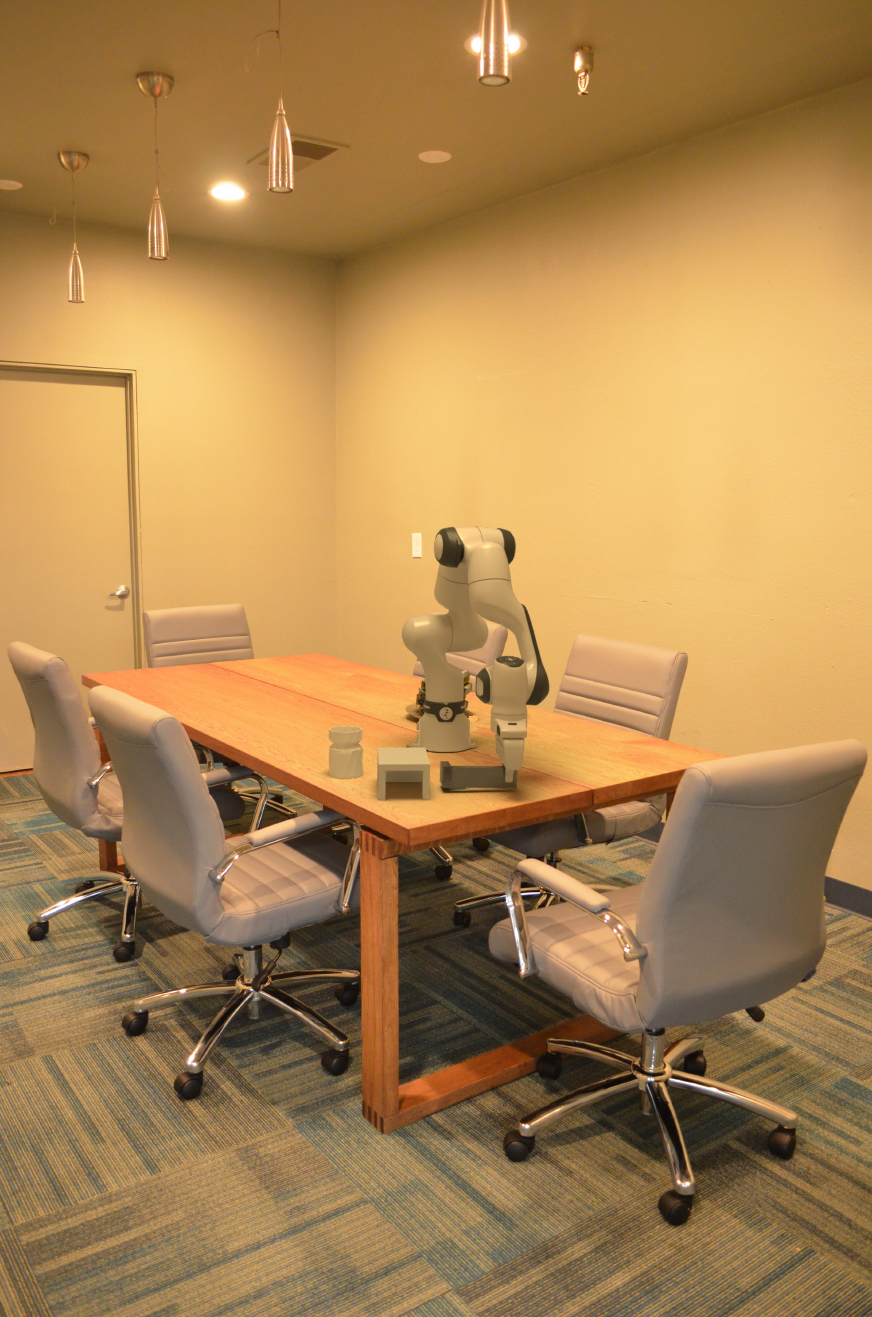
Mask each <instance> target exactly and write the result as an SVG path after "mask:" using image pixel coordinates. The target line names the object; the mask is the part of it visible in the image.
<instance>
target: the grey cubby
mask: <svg viewBox="0 0 872 1317" xmlns="http://www.w3.org/2000/svg"><path fill="white" fill-rule="evenodd" d="M376 752H377V754H376V755H377V757H376V758H377V763H376V764H377V765H376V766H377V767H376V768H377V772H376V776H377V778H376V779H377V780H376V782H377V783H378V785H377V786H378V787H377V788H378V792H377V796H378V801H386V783H422V800H426V801H427V800H428V801H429V800H430V799H431V798H430V797H431V796H430V794H431V792H430V790H431V789H430V788H431V763H430V759H429V756H428V753H427V750H426V749H425V748H406V747H377V751H376Z"/></svg>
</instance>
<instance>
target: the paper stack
mask: <svg viewBox="0 0 872 1317" xmlns="http://www.w3.org/2000/svg"><path fill="white" fill-rule="evenodd" d="M461 672H462V673H463V676H464V696H463V699H464V700H465V712H464V714H465V716H466V717H467V718H469V716H473V715H477V714H476V713H475V712H472V711H470V710H468V706H469V701H468V700H466V698H467V695H469V694H470V693H471V692H472V690H473V683H472V682H470V678H471V673H470V670H469V669H466V670H461ZM420 685H421V686H420V687H418V693H417V694H416V697H415V698H416V699H415V700H416V701H415V703H411V704H408V705H407V706H405V708H404V709H405V711H406V713H407V714H409V715H411V716H412V717H415V718H417V719H421V717H422V716H423V715H424V713H425V712H424V700H425V699H426V688H425V678H424V679H423V680H421V682H420Z"/></svg>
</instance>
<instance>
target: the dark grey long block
mask: <svg viewBox="0 0 872 1317" xmlns="http://www.w3.org/2000/svg"><path fill="white" fill-rule="evenodd" d="M517 782H518V770H514V773H513V781H512V782H506V781H505V766H502V765H451V763H450V762H449V760H448V761H446V760H442V761H441V760H440V762H439V783H440V784H441V786H442V788H443V789H449V788H465V789H517V784H518V783H517Z"/></svg>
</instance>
